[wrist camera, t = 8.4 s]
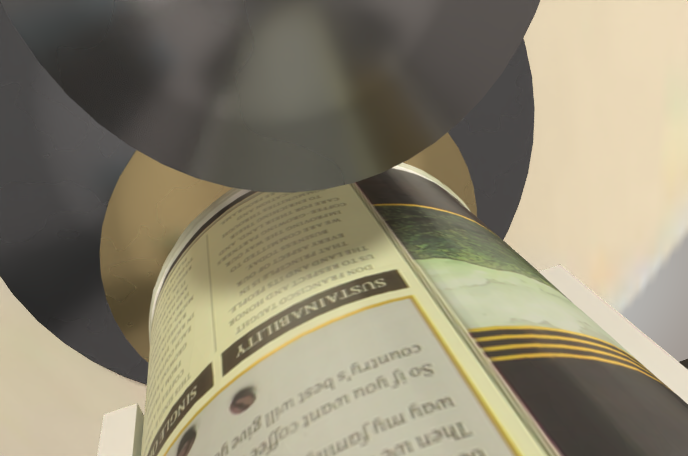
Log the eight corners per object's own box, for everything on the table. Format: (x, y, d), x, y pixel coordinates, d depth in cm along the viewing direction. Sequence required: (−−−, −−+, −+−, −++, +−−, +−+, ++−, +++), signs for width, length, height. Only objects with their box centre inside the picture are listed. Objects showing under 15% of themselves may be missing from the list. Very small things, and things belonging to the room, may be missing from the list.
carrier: (117, 448, 22) (64, 895, 12) (-204, -103, 13) (-1980, -360, 2) (525, 309, 24) (780, 571, 14) (508, -234, 15) (1220, -632, 5)
